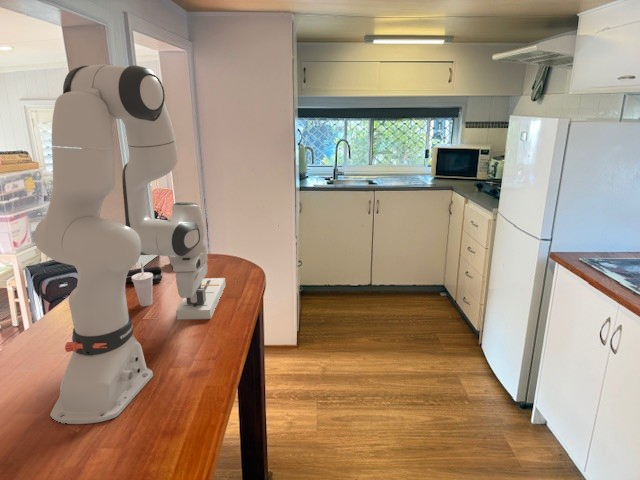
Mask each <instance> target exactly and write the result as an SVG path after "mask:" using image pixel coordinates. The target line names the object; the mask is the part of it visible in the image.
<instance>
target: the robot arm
mask: <svg viewBox="0 0 640 480" xmlns="http://www.w3.org/2000/svg"><path fill="white" fill-rule="evenodd" d="M62 86H63V87H62V94H60V95H59V96H58V97H57V99H56V100H55V102H54V108H53V114H52V123H51V146H52V147H51V153H52V154H51V155H52V158H51V159H52V189H51V190H52V191H51V196H50V200H49V205H48V207H47V211H46V213H45V216H44V217H43V219H41V220H40V221H39V222H38V224H37V225H36V227H35V230H34V234H33V241H34V244H35V246H36V248H37V250H39V251H40V252H41V253H42V254H43V255H45V256H46V257H47V258H50V259H51V260H53V261H55V262H57V263H61V264H63V265H64V264H65V265H68V266H72V267H74V268H75V269H76V271H77V283H76V287H75V288H74V289H73V290H72V291H71V292H70V294H69V296H68V305H69V310H70V314H71V319H72V323H73V329H72V335H71V340H72V341H68V342H66V343H65V346H64V350H65V352H67V353H70V352H72V353H71V356H70V358H69V360H68V364H67V365H66V370H65V371H64V374H63V377H62V380H61V383H60V385H59V387H60V388H59V397H58V398H57V400H56V402H55V404H54V406H53V408H52V410H51V412H50V413H49V415H50V416H51V417H52V418H53V419H54V420H56V421H58V422H57V423H59V422H61V423H60V424H65V423H67V425H85V424H96V423H101V422H106V421H108V420H111V419H114V418H117V417H118V416H119V415H120V414H121V413H122V412H123V411H124V410H125V409H126V407H127V406H128V405H129V404H130V403H131V402H132V401H133V400H134V399H135V397H136V396H137V395H138V394H139V393H140V391H142V390H143V388H144V387H145V386H146V385H147V384H148V382H149V381H150V380H151V379H152V378H153V376H154V373H153V371H152V369H150V368H148V367H147V364H146V360H145V356H144V352H143V348H142V344H141V343H140V342H139V341H138V340H137V339H136V337H135V336H134V328H133V327H134V324H133V321H132V318H131V316H130V315H129V309H128V305H127V304H128V302H127V295H126V284H127V283H126V278H127V274H128V271H130V270H131V269H132V268H133V267H135V266H136V264H137V263H138V261H139V259H140V257H141V256H159V257H160V256H163V257H168V256H175V260H174V263H173V266H172V270H173V272H175V281H176V287H177V293H178V295H179V297H180V298H183V299H184V298H190V299H191V302H192V303H196V302H197V300H198V296H197V295H196V290H197V289H198V288H201V286H202V280H203V279H204V278H205V277H206V275H207V274H208V260H209V258H208V248H207V242H206V240H205V234H206V228H205V221H204V214H203V210H202V208H201V205H200V204H198V203H197V202H183V201H182V202H175V203H173V204H172V208H171V210H172V212H171V216H170V217H169V218H168V219H165V220H164V219H163V220H162V219H152V218H151V217H149V215H148V210H147V208H148V206H147V193H146V190H147V187H148V184H149V183H152V182H154V181H157V180H158V179H161V178H163V177H164V176H167V175H169V173H172V171H173V170H174V169H175V167H176V165H177V164H178V161H179V150H178V144H177V139H176V133H175V131H174V126H173V123H172V119H171V116H170V112H169V111H168V109H167V105H166V103H165V89H164V86H163V84H162V81H161V80H160V78H159V77H158V75H157V74H156V73H155V72H154V71H153V70H151V69H150V68H147V67H144V66H140V65H136V64H135V65H134V64H133V65H130V66H129V65H120V64H112V63H111V64H110V63H105V64H95V65H81V66H78V67H76V68H73V69H71V70H70V71H69V72H68V73H67V74H66V76H65V79H64V82H63V85H62ZM115 120H121V121H122V123H123V124H124V127H125V135H126V136H125V137H126V141H127V145H128V150H129V151H128V152H129V154H128V155H129V156H128V162H127V163H125V165H124V166H123V170H122V179H121V180H122V195H123V207H124V217H125V218H124V219H125V220H124V221H125V224H124V223H121V222H120V221H118V220H115V219H108V218H102V217H101V210H102V206H103V203H104V202H105V201H104V200H105V199H106V197H107V196H108V195H110V194H111V193H112V192H113V190H114V188H115V185H116V184H115V183H116V179H115V176H116V175H115V151H114V150H115V145H114V134H113V124H114V122H115ZM125 283H126V284H125ZM50 416H49V417H50ZM63 416H64V417H63ZM54 420H53V421H54ZM56 421H55V422H56Z"/></svg>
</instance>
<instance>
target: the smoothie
mask: <svg viewBox="0 0 640 480" xmlns="http://www.w3.org/2000/svg"><path fill="white" fill-rule="evenodd" d="M143 268H144V265H143V261H140V269H141V271H142V273H138V274H135V275H133V276H131V277H132V282H131V283H133V286H134V289H135V293H136V295H137V299H138V302H139V305H140V307H149V306H152V304H153V284H152V279H153V274H152V273H149V272H144V271H143Z"/></svg>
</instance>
